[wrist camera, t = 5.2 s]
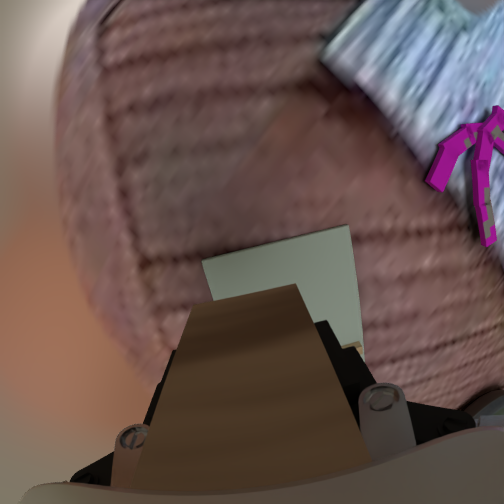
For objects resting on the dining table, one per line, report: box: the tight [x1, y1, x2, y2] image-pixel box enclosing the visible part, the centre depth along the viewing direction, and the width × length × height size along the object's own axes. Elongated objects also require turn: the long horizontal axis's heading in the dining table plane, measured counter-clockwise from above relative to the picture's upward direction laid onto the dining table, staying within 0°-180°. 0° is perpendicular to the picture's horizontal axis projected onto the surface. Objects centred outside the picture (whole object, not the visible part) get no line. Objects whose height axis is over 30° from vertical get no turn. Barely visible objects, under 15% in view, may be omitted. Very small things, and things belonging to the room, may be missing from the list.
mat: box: [201, 224, 365, 362], centre depth 31 cm, size 23×14×1 cm, turn 14°
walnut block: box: [130, 283, 372, 491], centre depth 9 cm, size 4×4×10 cm
